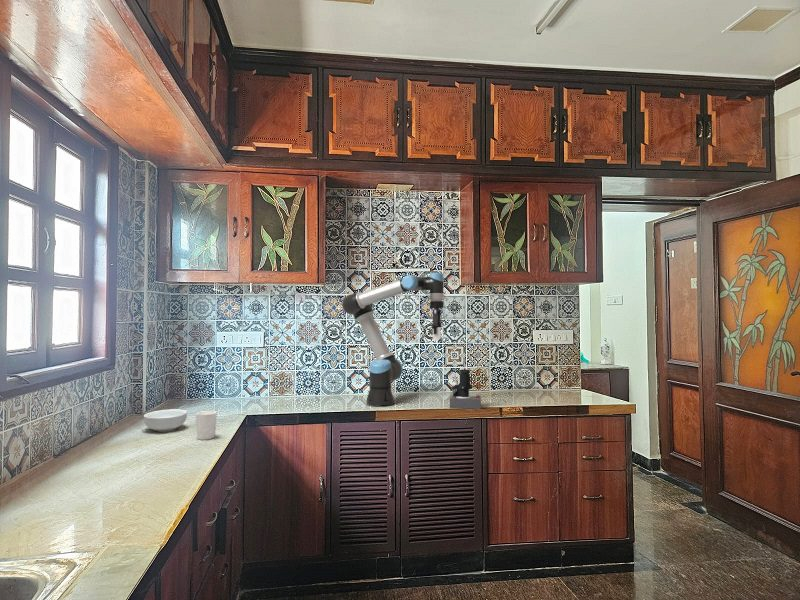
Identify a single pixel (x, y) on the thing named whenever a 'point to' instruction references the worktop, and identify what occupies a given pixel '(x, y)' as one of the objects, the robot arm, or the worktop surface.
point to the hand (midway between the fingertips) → (436, 339)
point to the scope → (462, 385)
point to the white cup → (206, 424)
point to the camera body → (466, 402)
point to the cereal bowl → (165, 419)
